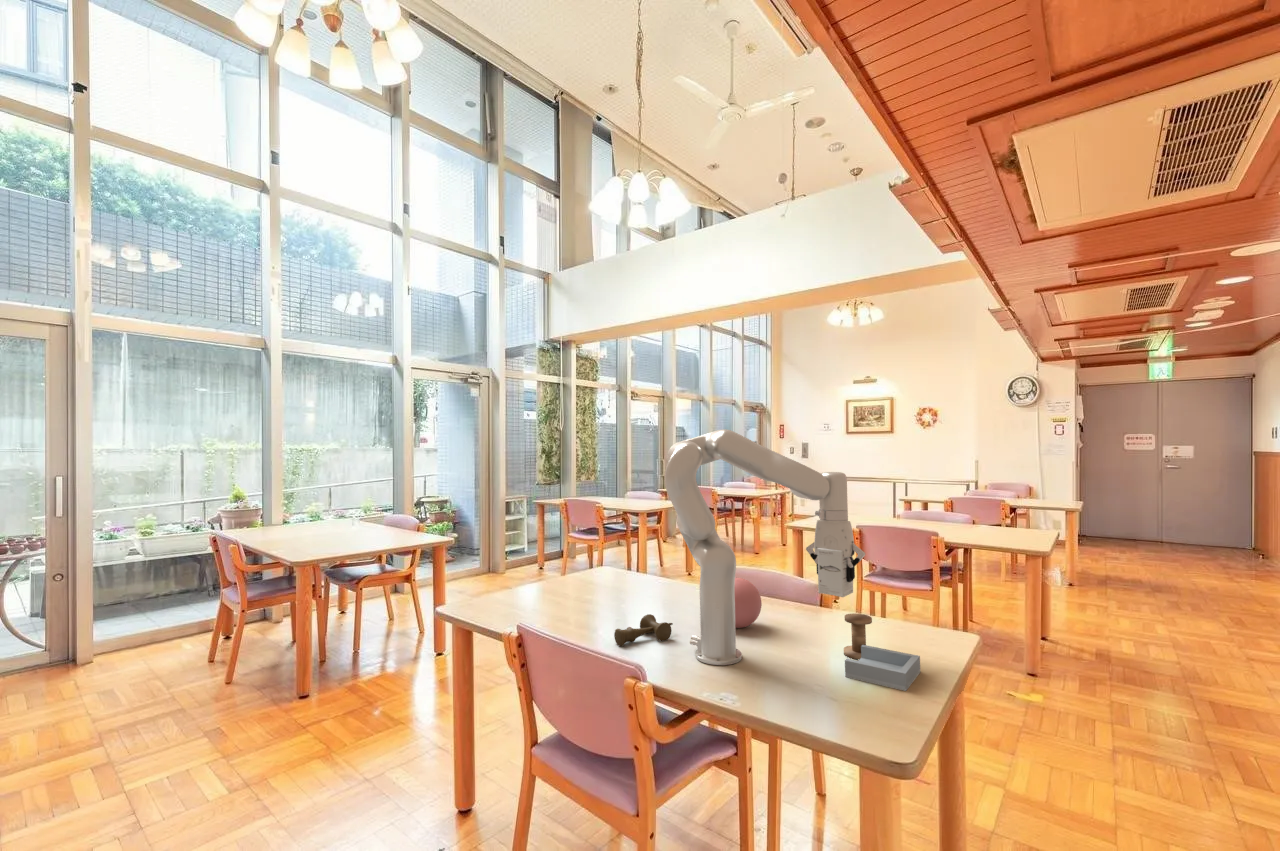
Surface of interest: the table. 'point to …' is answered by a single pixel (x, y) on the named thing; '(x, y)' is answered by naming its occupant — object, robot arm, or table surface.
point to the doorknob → (857, 634)
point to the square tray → (884, 667)
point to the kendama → (644, 631)
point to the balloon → (746, 603)
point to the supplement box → (833, 573)
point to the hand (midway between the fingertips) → (835, 578)
